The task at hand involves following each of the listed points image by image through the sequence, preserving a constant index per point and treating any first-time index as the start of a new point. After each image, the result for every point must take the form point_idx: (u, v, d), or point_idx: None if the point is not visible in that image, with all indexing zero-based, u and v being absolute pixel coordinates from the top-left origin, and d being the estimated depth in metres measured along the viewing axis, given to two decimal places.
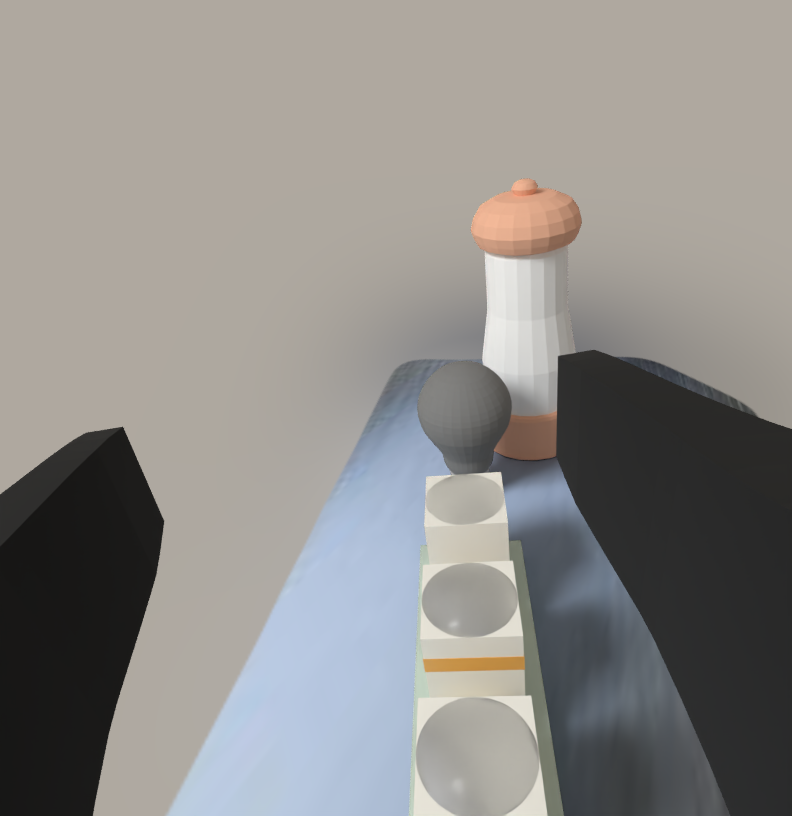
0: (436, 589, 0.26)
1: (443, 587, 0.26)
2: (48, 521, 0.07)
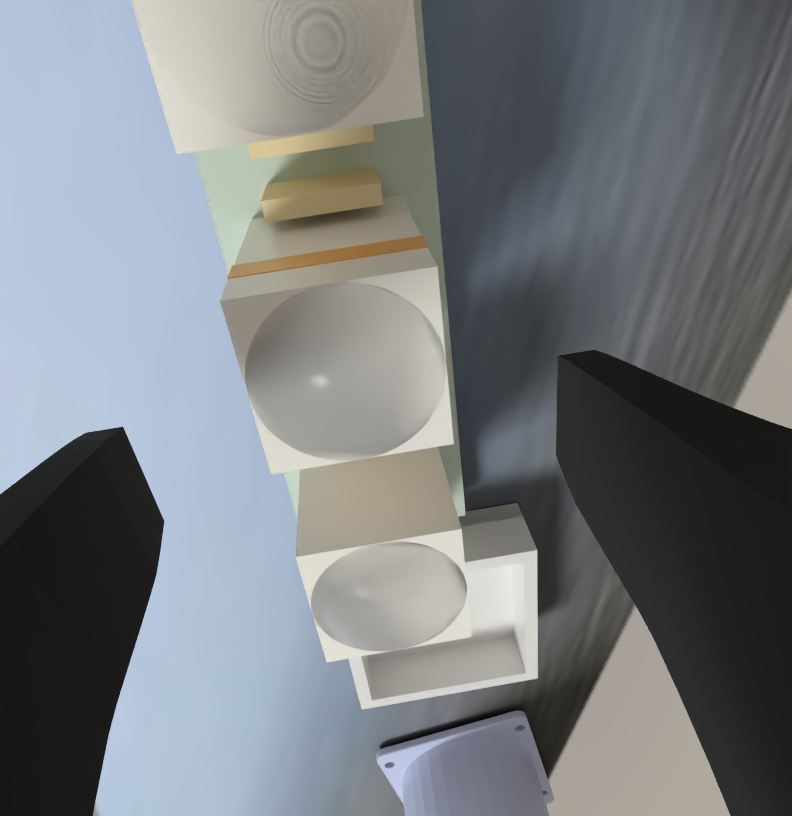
0: (273, 366, 0.12)
1: (286, 360, 0.12)
2: (47, 520, 0.07)
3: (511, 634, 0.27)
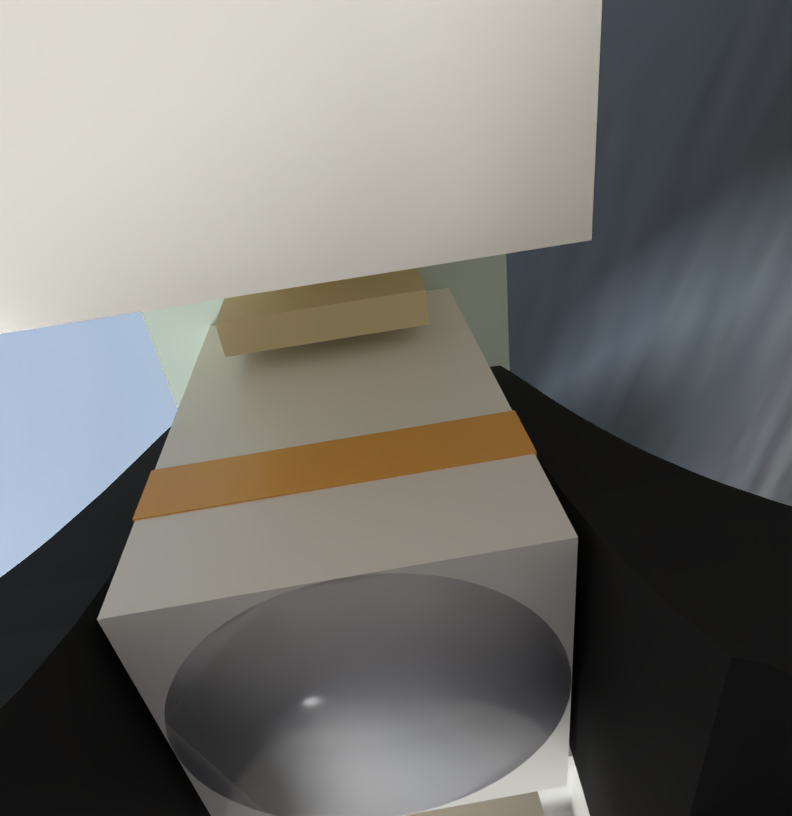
0: (223, 711, 0.06)
1: (252, 701, 0.06)
2: None
3: (567, 807, 0.21)
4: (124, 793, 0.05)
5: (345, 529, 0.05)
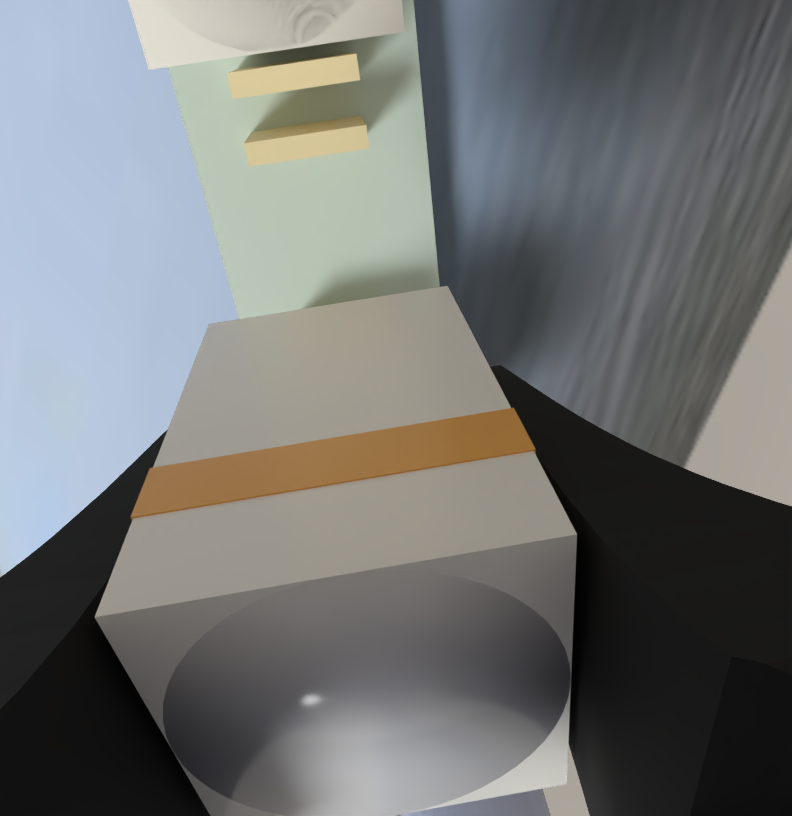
0: (221, 709, 0.06)
1: (250, 699, 0.06)
2: None
3: None
4: (124, 793, 0.05)
5: (344, 527, 0.05)
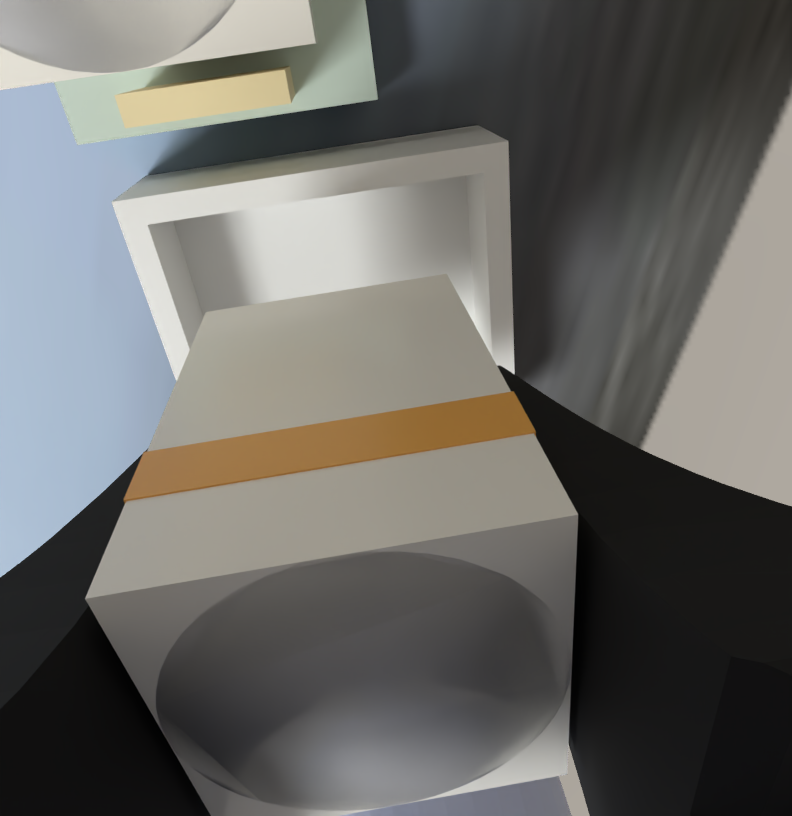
0: (215, 695, 0.06)
1: (245, 684, 0.06)
2: None
3: None
4: (124, 793, 0.05)
5: (340, 508, 0.05)
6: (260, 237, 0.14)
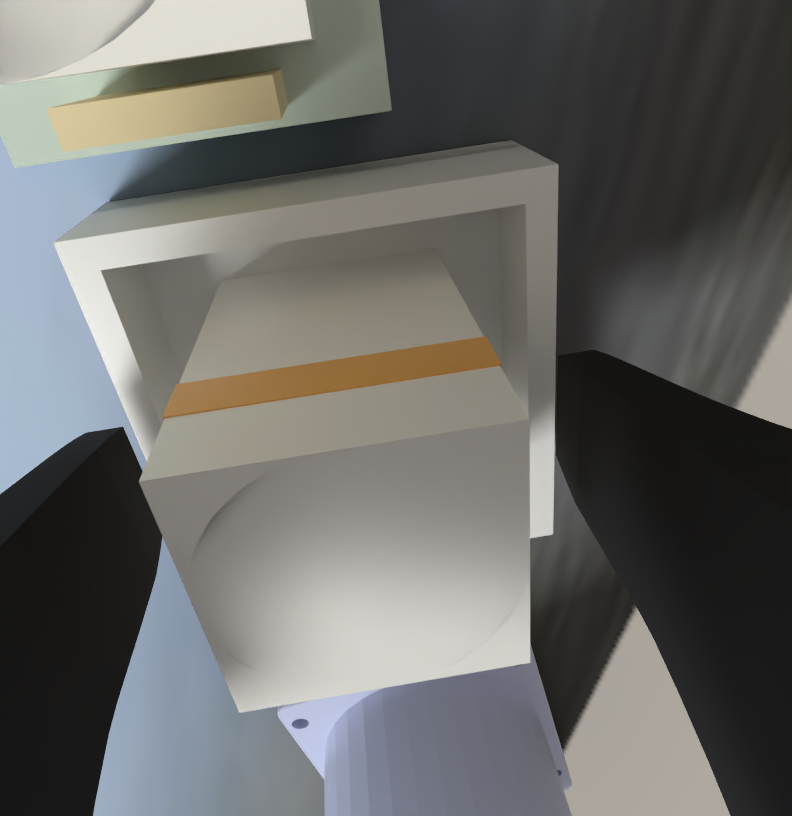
0: (238, 574, 0.07)
1: (262, 564, 0.07)
2: (48, 521, 0.07)
3: None
4: None
5: (341, 419, 0.07)
6: (247, 276, 0.11)
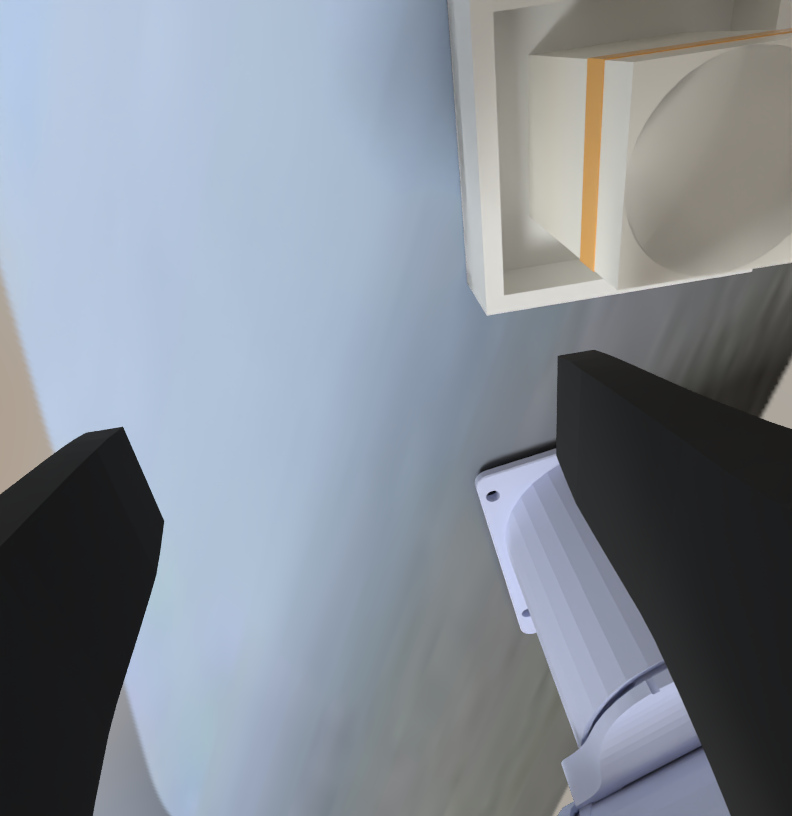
0: (661, 151, 0.11)
1: (677, 144, 0.11)
2: (48, 521, 0.07)
3: None
4: None
5: (735, 44, 0.11)
6: None
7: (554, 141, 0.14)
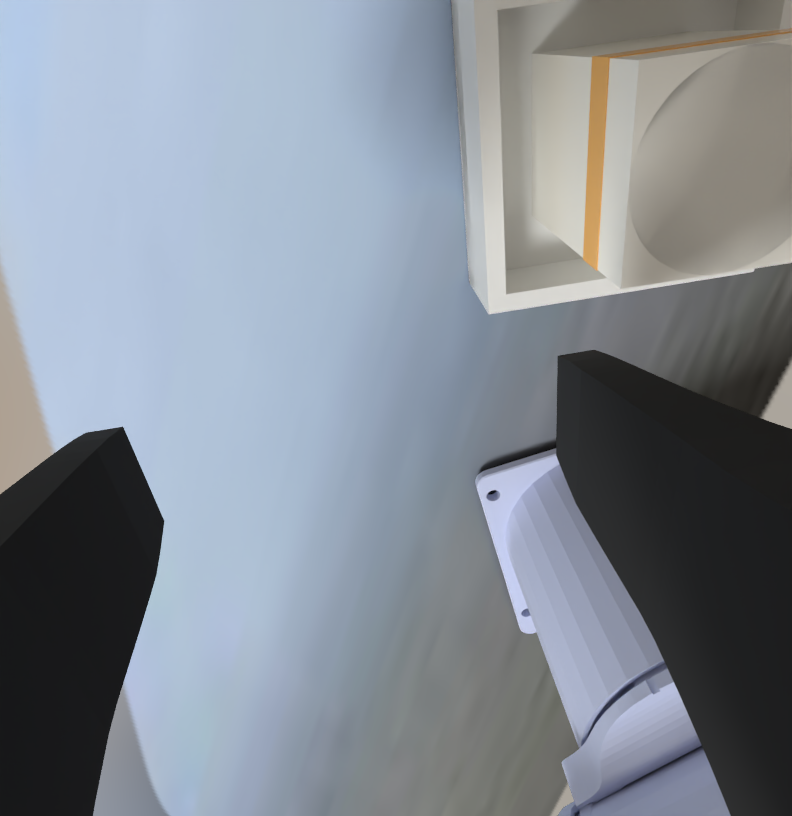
0: (665, 150, 0.11)
1: (682, 142, 0.11)
2: (47, 520, 0.07)
3: None
4: None
5: (740, 43, 0.11)
6: None
7: (557, 140, 0.14)
